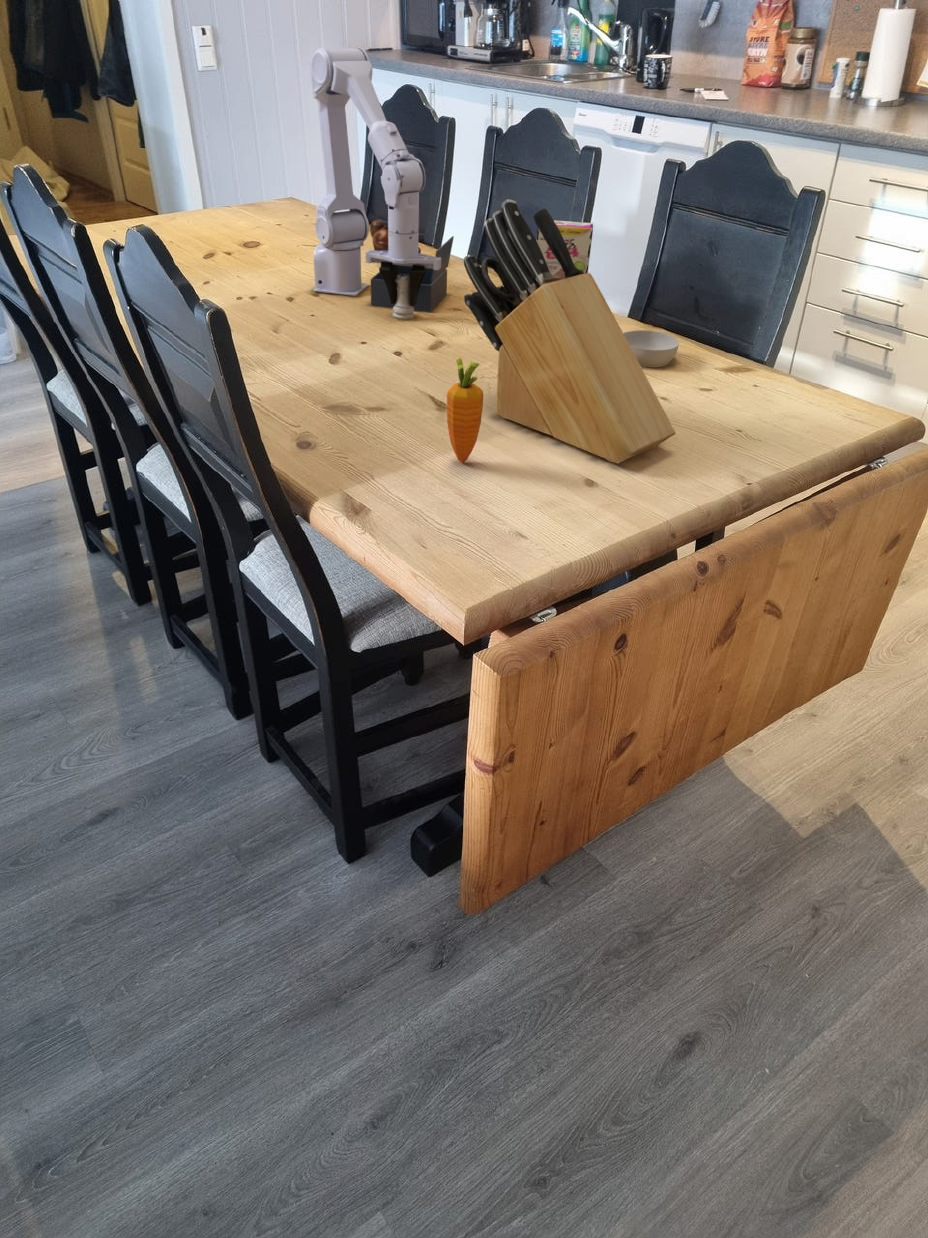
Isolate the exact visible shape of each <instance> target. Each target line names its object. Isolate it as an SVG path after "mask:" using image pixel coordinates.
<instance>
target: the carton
mask: <svg viewBox="0 0 928 1238" xmlns="http://www.w3.org/2000/svg"><path fill="white" fill-rule="evenodd" d="M411 268H413V267H411V266H402V265H398V274H397V275H399V274H402V276H403V274H406V276H407V274H409V270H410V269H411ZM432 272H433V269H430V268H428V269H427V272H426V274H425V276H424V278H423V280H422V283H421V286H420V289H419V292H418V297H417V303H416V305H415V306H413V308H414V312H423V313H432V312H433V311H434V310H435V308H436V307H438V305H440V303H441V302H442V301H443V300H444V299H445V298H446V296H447V293H448V292H447V291H448V269H447V268H446V269H445V270H444V271H443V272H442V273H441V274H440V275H439V276H438V277H437V278H436V279H435V280H434V281H433V282H431V277H432ZM397 286H398V285H397ZM370 305H371V306H372V307H381V308H389V309H393V307H394V306H395V304H391V302H390V297H389V293H388V290H387V287H386V284H385V282H384V279H383V277H382V276H381V274H380V272H379V271H378V272H377V273H376V274H375V275H374V276H372V277H371V278H370Z"/></svg>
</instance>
